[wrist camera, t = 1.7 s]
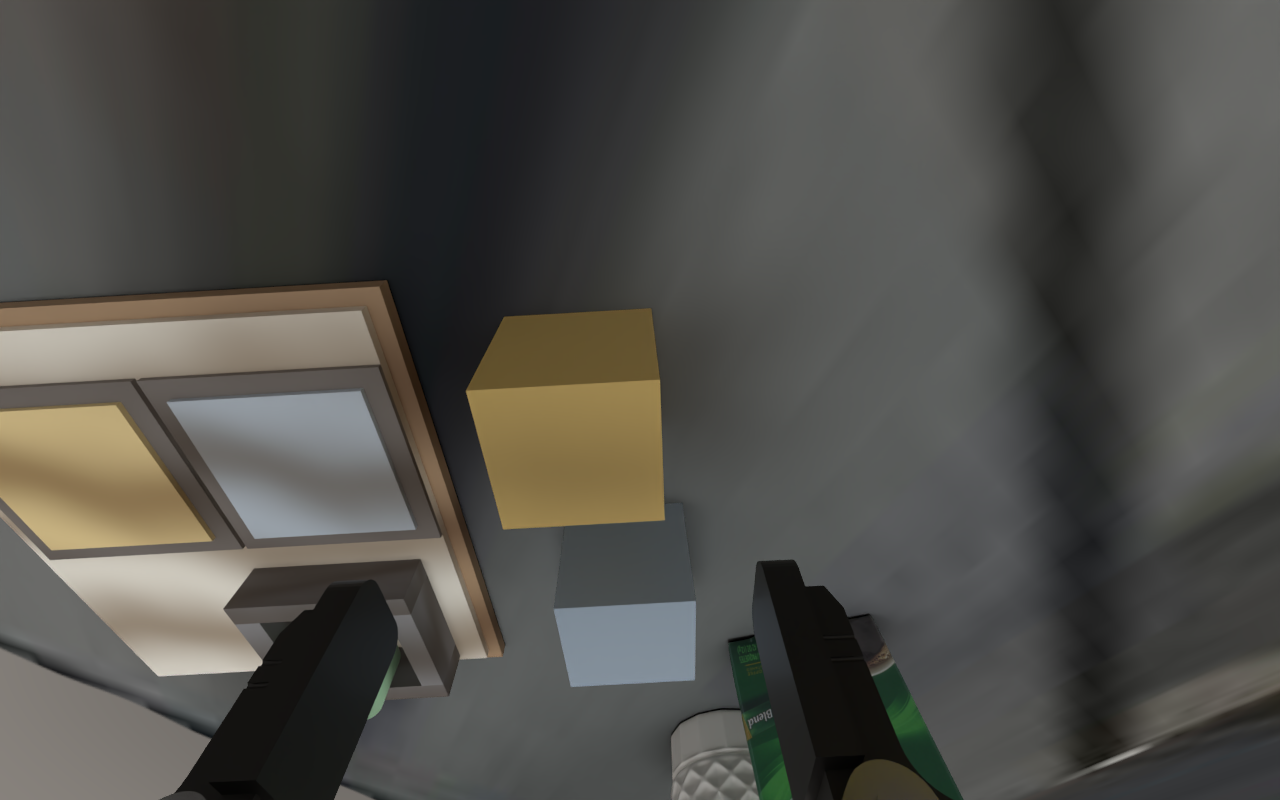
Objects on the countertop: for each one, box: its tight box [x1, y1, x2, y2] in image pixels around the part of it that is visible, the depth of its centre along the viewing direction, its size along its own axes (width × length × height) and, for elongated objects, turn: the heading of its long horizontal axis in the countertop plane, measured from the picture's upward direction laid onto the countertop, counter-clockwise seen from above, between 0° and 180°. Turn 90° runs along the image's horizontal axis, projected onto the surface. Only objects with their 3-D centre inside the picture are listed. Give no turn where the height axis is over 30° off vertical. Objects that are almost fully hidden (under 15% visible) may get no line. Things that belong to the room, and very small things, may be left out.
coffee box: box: [728, 615, 963, 800], centre depth 22 cm, size 8×3×13 cm, turn 105°
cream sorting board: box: [0, 280, 505, 700], centre depth 20 cm, size 20×18×3 cm
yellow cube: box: [466, 308, 665, 529], centre depth 16 cm, size 5×5×5 cm
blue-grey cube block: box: [554, 503, 696, 687], centre depth 21 cm, size 5×5×5 cm
